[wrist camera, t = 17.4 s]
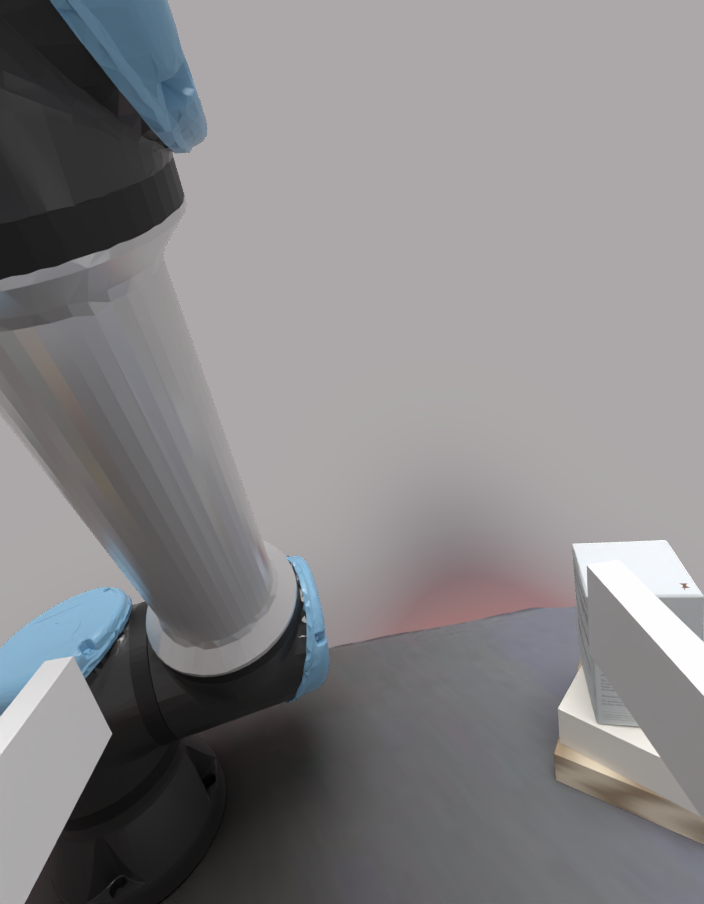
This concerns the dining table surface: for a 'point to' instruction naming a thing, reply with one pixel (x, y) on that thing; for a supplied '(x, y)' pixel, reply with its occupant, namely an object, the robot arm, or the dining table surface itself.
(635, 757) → the tower top block
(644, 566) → the supplement box
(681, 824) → the tower base block
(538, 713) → the dining table surface
